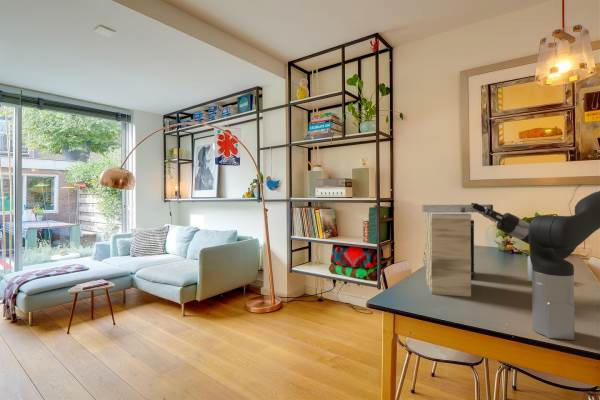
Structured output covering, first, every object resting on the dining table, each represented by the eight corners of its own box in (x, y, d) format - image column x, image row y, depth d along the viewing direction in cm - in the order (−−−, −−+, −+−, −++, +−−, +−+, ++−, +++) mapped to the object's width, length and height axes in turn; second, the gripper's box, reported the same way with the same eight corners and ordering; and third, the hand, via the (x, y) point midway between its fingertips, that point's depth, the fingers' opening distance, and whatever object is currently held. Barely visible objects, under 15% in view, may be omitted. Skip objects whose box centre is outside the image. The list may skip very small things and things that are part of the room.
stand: (471, 297, 120) (471, 208, 119) (432, 294, 124) (431, 208, 123) (458, 281, 141) (458, 206, 141) (425, 279, 145) (424, 206, 144)
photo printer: (535, 277, 147) (535, 250, 146) (546, 279, 143) (546, 252, 143) (525, 280, 141) (525, 253, 141) (536, 283, 137) (536, 254, 137)
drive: (492, 212, 125) (492, 204, 125) (423, 212, 132) (423, 205, 132) (489, 211, 129) (489, 204, 129) (422, 211, 136) (422, 204, 136)
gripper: (511, 216, 132) (472, 196, 135) (526, 219, 118) (482, 197, 122) (501, 232, 133) (463, 211, 137) (515, 236, 119) (471, 213, 123)
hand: (472, 205), depth 129 cm, fingers closed on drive, 4 cm apart
